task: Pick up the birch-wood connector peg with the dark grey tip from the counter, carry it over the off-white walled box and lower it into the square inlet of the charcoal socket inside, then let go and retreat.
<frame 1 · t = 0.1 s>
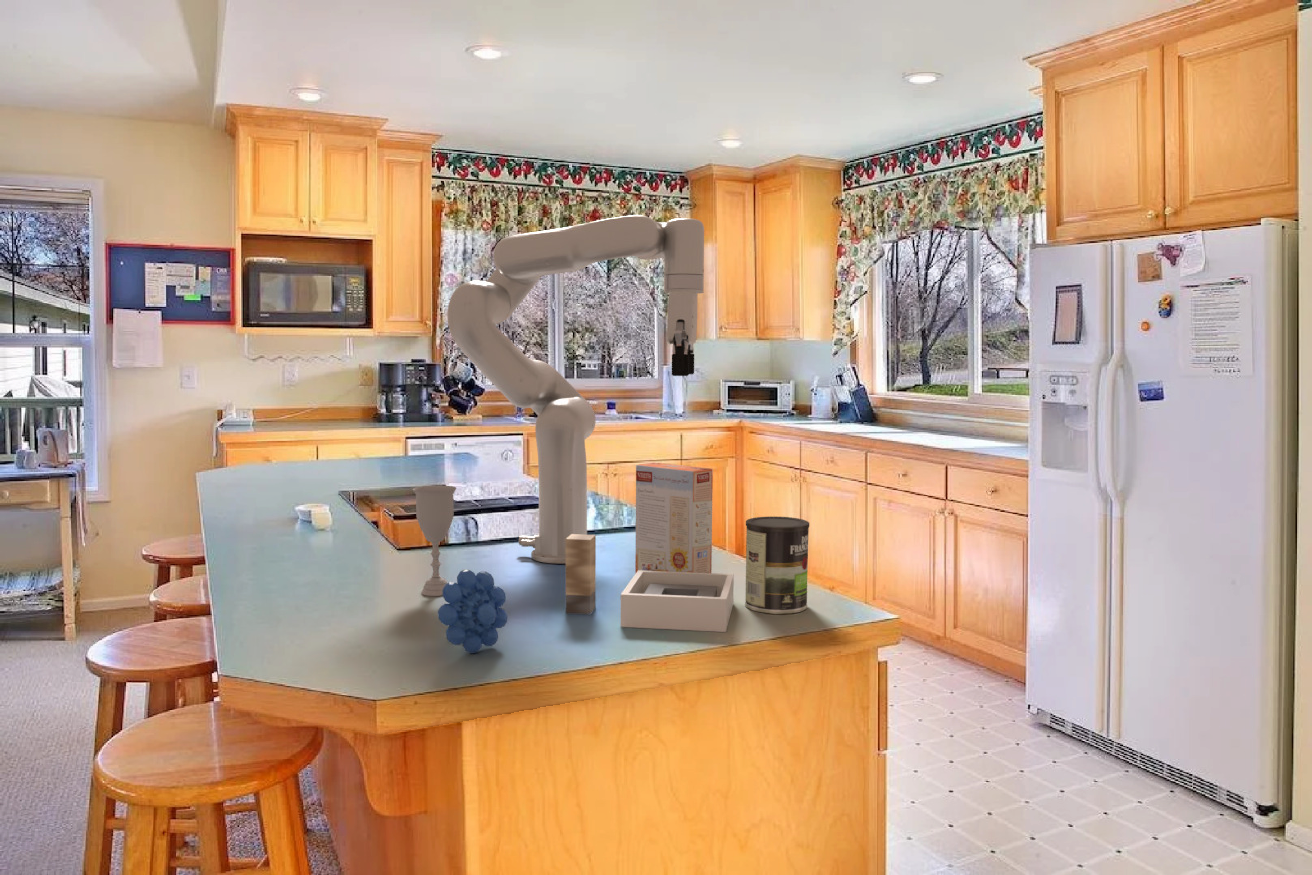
hand: (683, 375, 189), 37 cm above the table, tool pointing down, fingers open, 9 cm apart
connector peg: (580, 610, 158), on the table
walled box: (679, 614, 155), on the table
coffee can: (775, 607, 161), on the table
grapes: (478, 655, 135), on the table
chalice: (436, 593, 169), on the table
cracker box: (673, 580, 179), on the table
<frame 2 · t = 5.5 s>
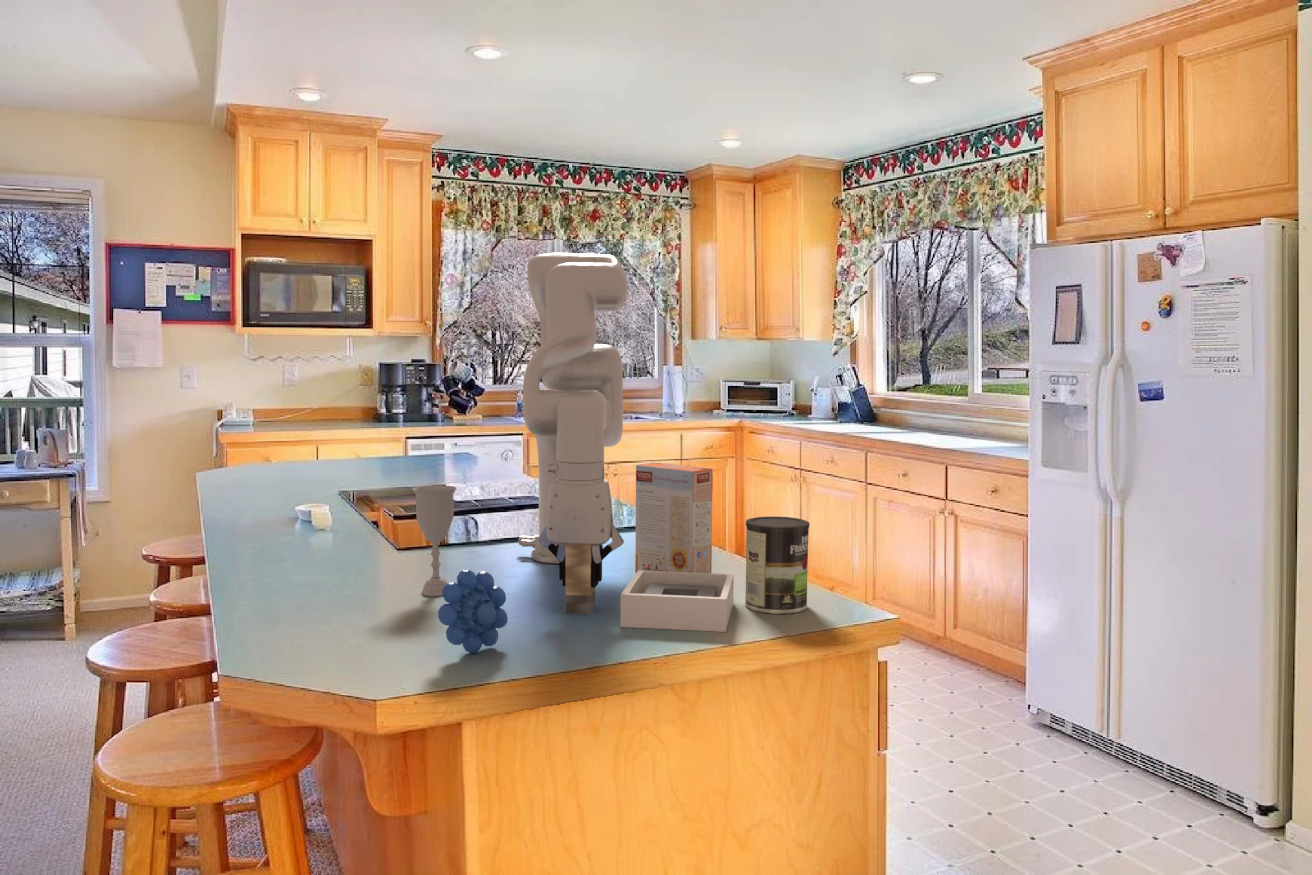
hand: (580, 583, 157), 4 cm above the table, tool pointing down, fingers closed on connector peg, 4 cm apart
connector peg: (580, 610, 158), on the table, touching gripper
everything else where it was.
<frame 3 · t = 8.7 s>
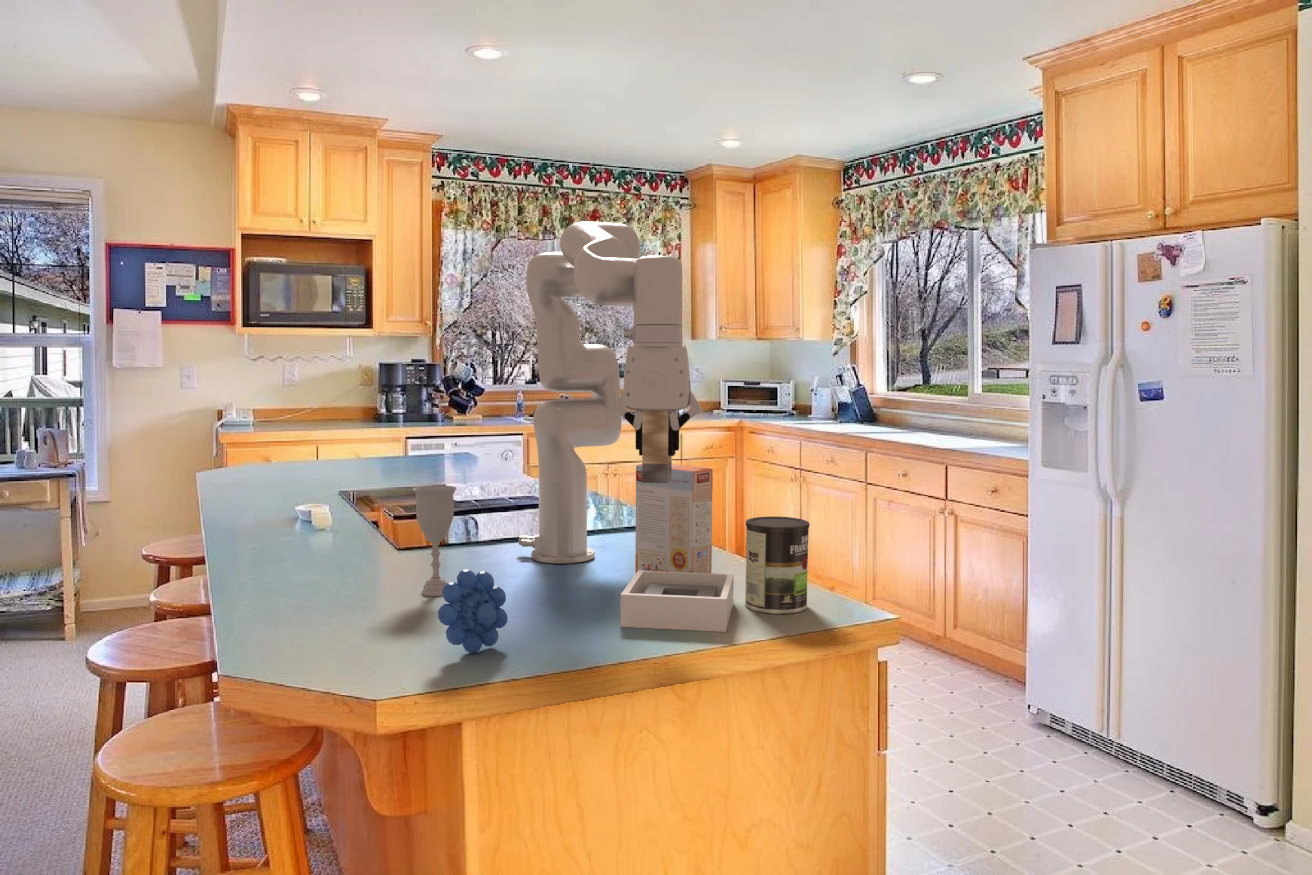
hand: (657, 453, 153), 26 cm above the table, tool pointing down, fingers closed on connector peg, 4 cm apart
connector peg: (657, 481, 154), point 21 cm above the table, touching gripper
everything else where it was.
when the fingers open (6 cm above the table, at t = 12.3 s): connector peg stays where it is, resting on walled box.
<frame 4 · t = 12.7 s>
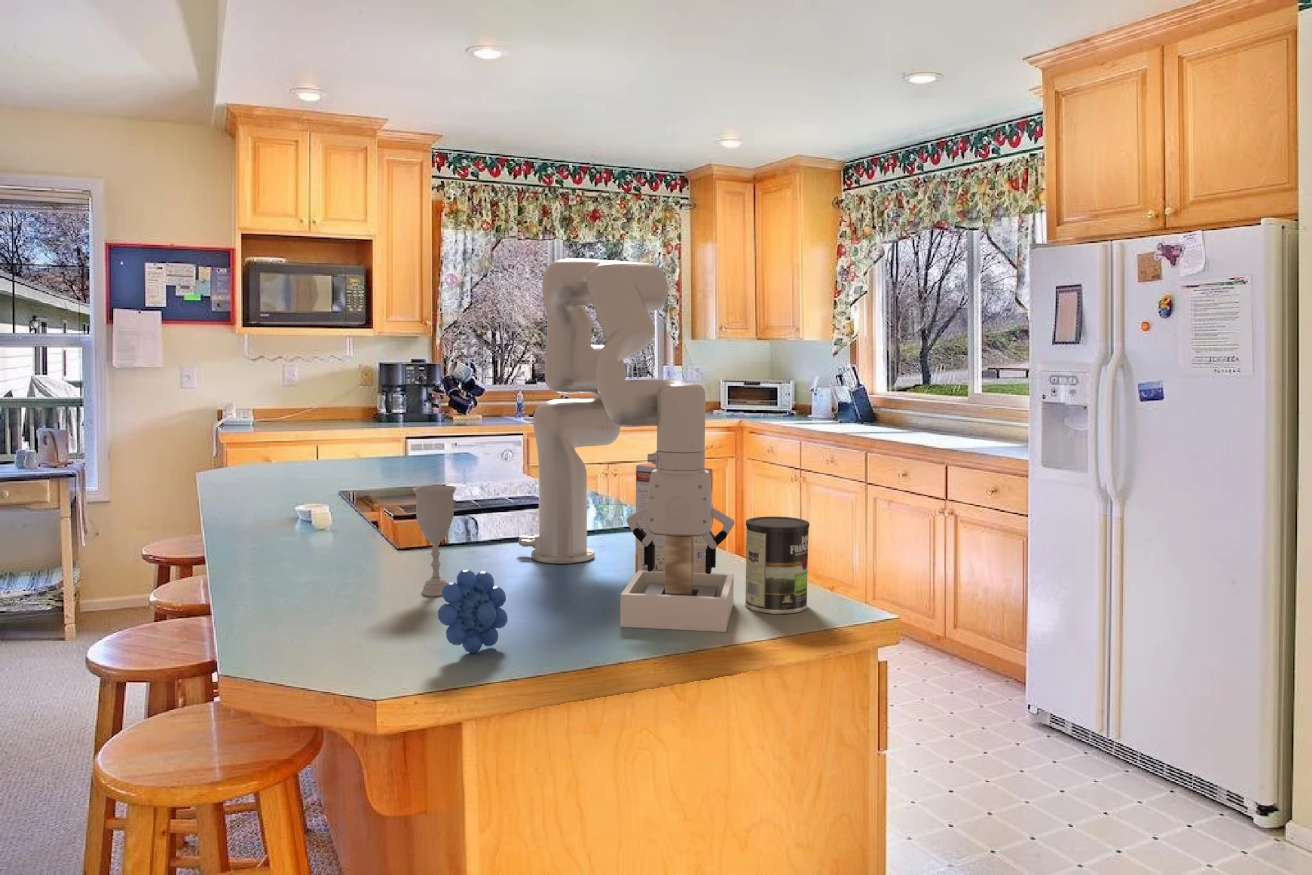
hand: (679, 570, 155), 7 cm above the table, tool pointing down, fingers open, 8 cm apart
connector peg: (679, 608, 155), point 1 cm above the table, touching walled box
everything else where it was.
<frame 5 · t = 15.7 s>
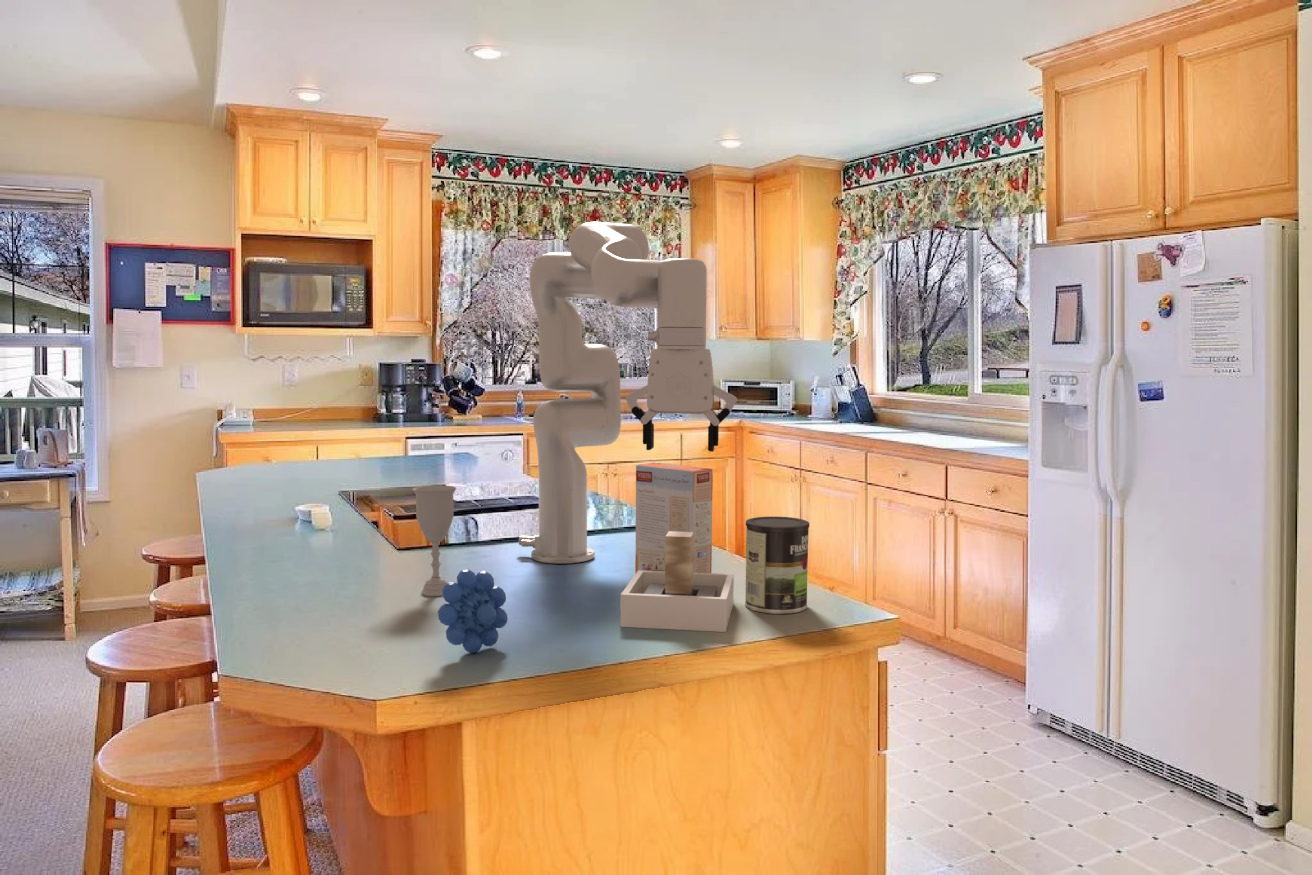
hand: (680, 449, 153), 26 cm above the table, tool pointing down, fingers open, 9 cm apart
nothing on the table moved.
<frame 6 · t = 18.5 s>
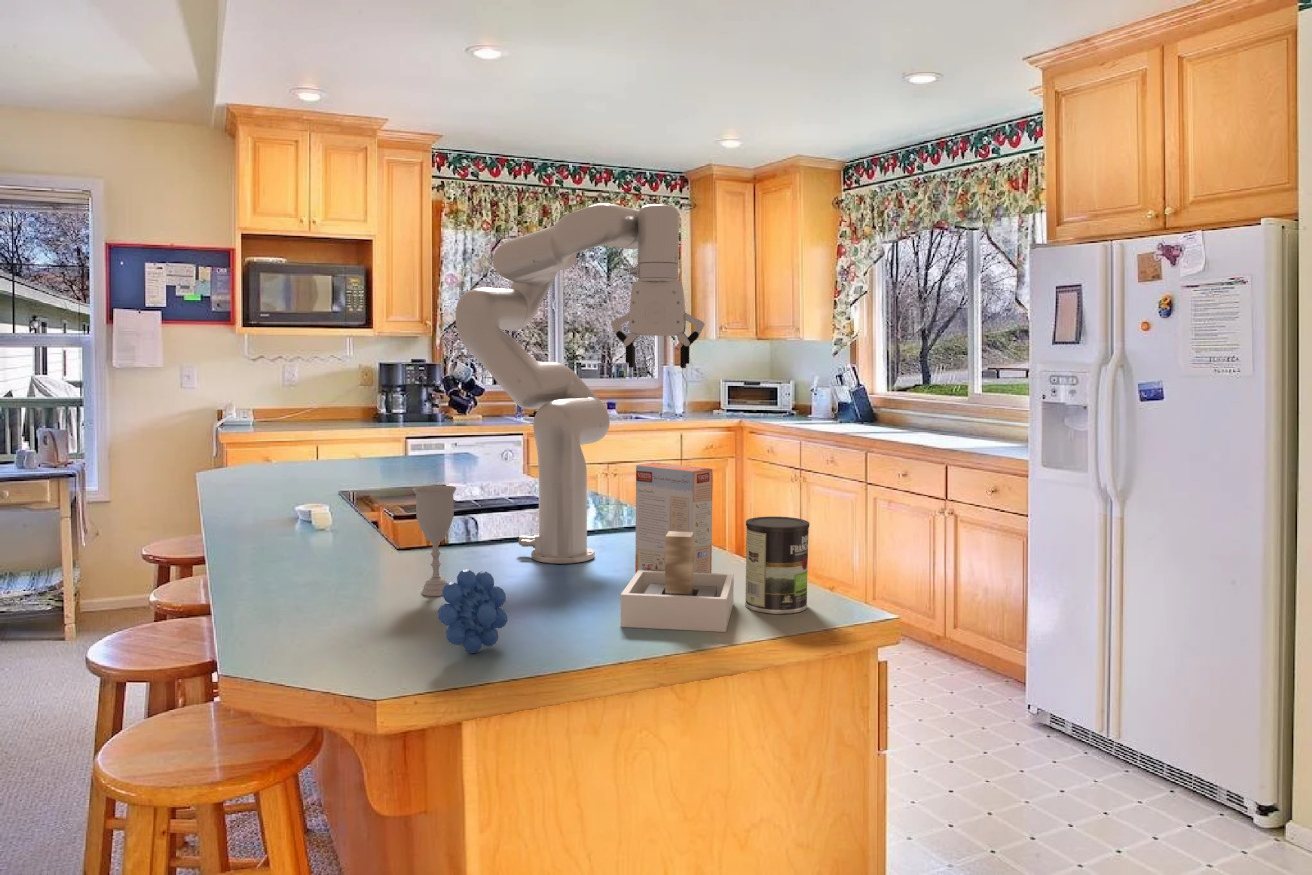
hand: (657, 367, 181), 38 cm above the table, tool pointing down, fingers open, 9 cm apart
nothing on the table moved.
at the end: connector peg 0.0 cm off-centre on the walled box, point 1.0 cm above the walled box's base; connector peg tilted 0°; the gripper is holding nothing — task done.
